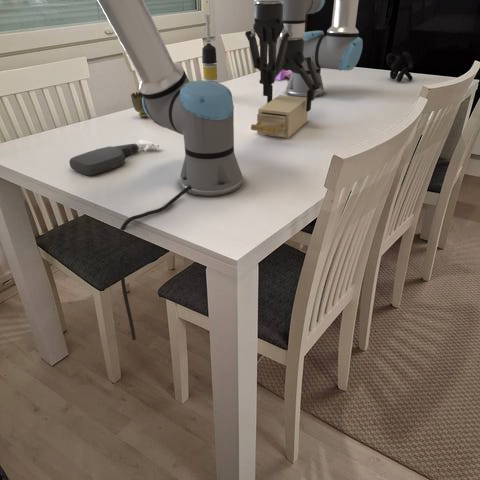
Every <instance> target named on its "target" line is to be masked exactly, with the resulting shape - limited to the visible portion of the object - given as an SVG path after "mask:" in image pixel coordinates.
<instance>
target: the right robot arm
mask: <svg viewBox="0 0 480 480" xmlns="http://www.w3.org/2000/svg"><path fill="white" fill-rule="evenodd" d="M359 1H360V0H333V9H332V18H331V26H330V27H329V28H328V29H327V30H326V35H325V33H324V30H312V31H305V29H306V15H314V14H315V13H318V12H319V11H321V10H322V9H323V7H324V5H325V3H326V0H282V1H281V3H282V5H283V20H282V21H283V25H284V29H285V30H287V31H288V32H291V33H292V36H291V38H290V39H289V41H288V44H287V48H286V52H285V56H284V60H283V64H282V68H280V69H279V70H276V71H275V78H276V77H277V76H278V74H279V73H280V72H281V71H282V70H283V69H284V70H285V71H292V72H291V76H290V77H286V76H285V80H288V83H287V85H286V87H285V92H286V95H287V96H295V97H304V98H307V104H306V112H308V113H309V112H310V111H311V110H312V102H314V100H315V99H316V97H321V96H322V95H324V92H325V88H324V84H323V78H322V75H321V71H322V69H325V70H336V71H337V70H338V71H339V72H341V71H352V70H353V69H354V68H355V67H356V66H357V64H358V62H359V60H360V58H361V55H362V51H363V47H364V44H363V43H364V42H363V39H362V38H361V37H360V36H359V34H360V32H359V30H358V28H357V27H356V24H357V17H358V9H359ZM256 3H257V2H256V1H255V0H253V5H255V4H256ZM281 35H282V33H281V34H280V36H279V37H280V39H279V41H278V42H279V43H278V45H279V46H278V48H279V47H280V43H281V40H282V38H281ZM277 55H278V54H276V59H277ZM267 67H268V68H269V61H267ZM267 70H268V69H266V71H267ZM259 85H263V83H261V81H260V80H259ZM273 86H274V85H273V84H272V94H271V95H269V96H266V104H267V103H269V102H270V101H272V100H273V93H274V92H273V90H274V87H273Z"/></svg>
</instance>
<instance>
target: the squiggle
mask: <svg viewBox="0 0 480 480" xmlns="http://www.w3.org/2000/svg"><path fill="white" fill-rule="evenodd" d="M401 57H402V59H401ZM391 59H392V60H391ZM393 60H394V61H393ZM385 61H386V64H387V67H390V68H391V70H390V72H389V78H390V79H391V80H395V79H396V81H397V82H399V83H400V82H402V81H403V79H404V76H406V78H407V80H408V81H412V80H413V79H414V77H413V75H412V74H411V73H410V72H409V71H410V70H412V69H413V68H414V64H413V61H412V57H411V54H410V53H409V52H408V51H403V53H402V54H401V55H396V54H394V53H392V52H390V53H387V55H386V57H385ZM406 62H407V65H408V66H407V67H405V66H404V65H405V64H406ZM400 70H401V71H400Z"/></svg>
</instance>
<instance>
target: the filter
mask: <svg viewBox="0 0 480 480" xmlns="http://www.w3.org/2000/svg"><path fill="white" fill-rule="evenodd" d="M210 17H211V14H204V18H205V27H206V29H205V30H206V31H205V33H206V39H207V40H206V42H207V43H206V45H204V46H202V49H201V50H202V51H201V52H202V54H201V55H202V57H201V58H202V61H201V63H202V71H203V72H202V73H203V74H202V75H203V81H208V82H217V83H219V82H218V81H216V80H218V64H216V63H218V61H217V48H216V47H215V46H214V45H212V43H210V42H211V40H210V39H211V31H210V29H211V28H210Z"/></svg>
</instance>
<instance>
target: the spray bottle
mask: <svg viewBox="0 0 480 480" xmlns="http://www.w3.org/2000/svg"><path fill="white" fill-rule="evenodd" d="M159 148H160V145H159V144H158V143H155V142H151V141H148V140H144V139H139V140H138V141H137V142H135V143H129V144H128V143H126V144H122V145H113V146H105V147H100V148H97V149H94V150H90V151H87V152H83V153H81V154H78V155H74V156H73V157H70V159H69V161H68V162H69V167H70V168H71V169H72V170H74V171H75V172H78V173H81V174H83V175H85V176H89V177H90V176H91V177H92V176H95V175H99V174H102V173H105V172H107V171H110V170H113V169H116V168H118V167H120V166H122V165H123V164H124V163H125V158H126V156H127V155H131V154H133V153H138V151H140V150H143V151H144V152H146V151H147V150H149V149H159Z"/></svg>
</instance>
